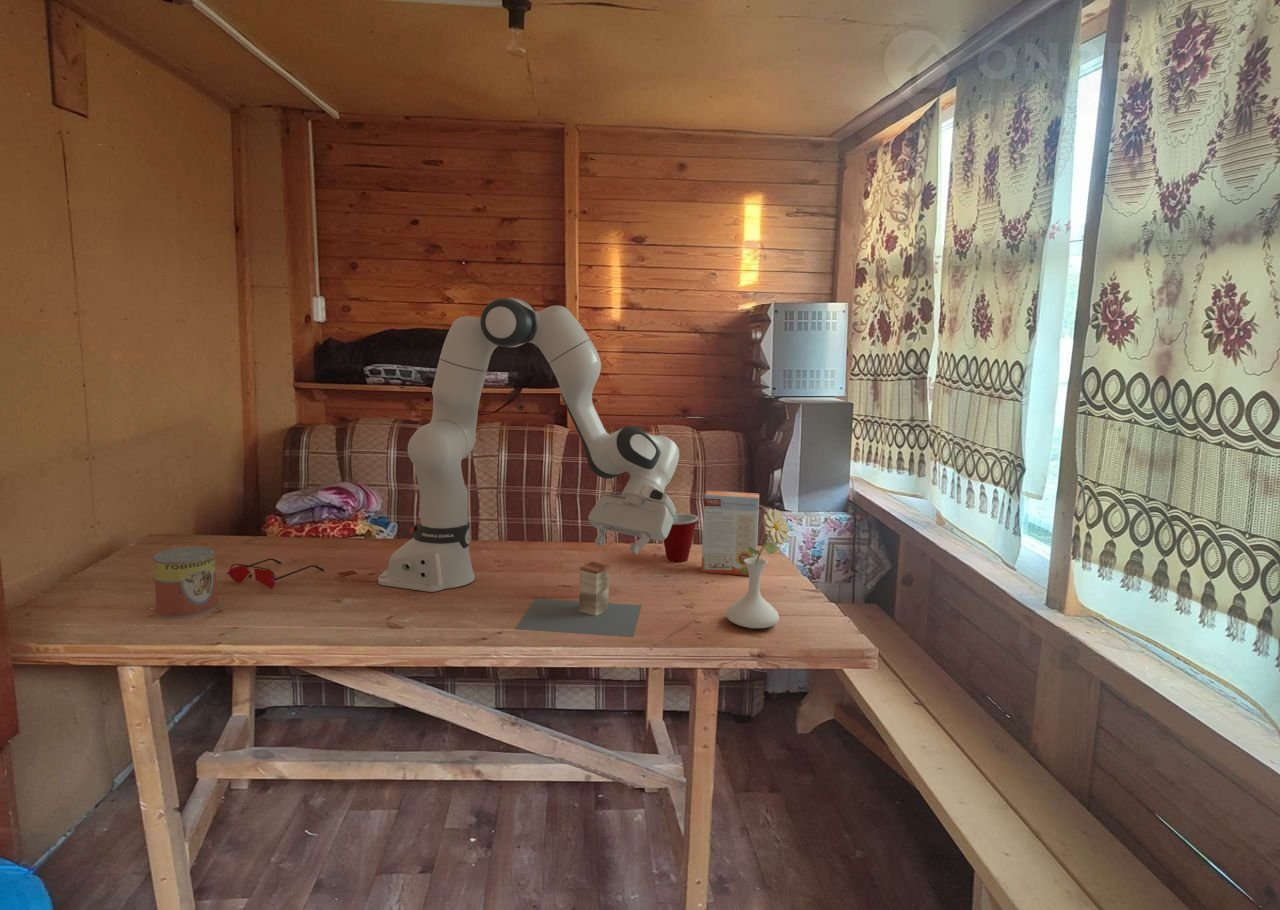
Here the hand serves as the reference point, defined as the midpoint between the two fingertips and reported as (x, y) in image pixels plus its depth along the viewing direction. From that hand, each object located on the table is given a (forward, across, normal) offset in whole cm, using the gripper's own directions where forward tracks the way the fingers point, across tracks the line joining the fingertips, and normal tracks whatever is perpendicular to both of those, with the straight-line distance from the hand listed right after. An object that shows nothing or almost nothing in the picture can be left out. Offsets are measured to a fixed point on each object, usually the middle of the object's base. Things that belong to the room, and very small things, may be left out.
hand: (615, 548), depth 169 cm
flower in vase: (+3, +30, +16) cm, 35 cm away
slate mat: (+18, 0, +1) cm, 18 cm away
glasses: (+34, -75, -15) cm, 84 cm away
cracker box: (-18, +10, +36) cm, 41 cm away
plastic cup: (-18, -6, +37) cm, 41 cm away
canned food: (+50, -70, -32) cm, 92 cm away
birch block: (+14, 0, +3) cm, 15 cm away
